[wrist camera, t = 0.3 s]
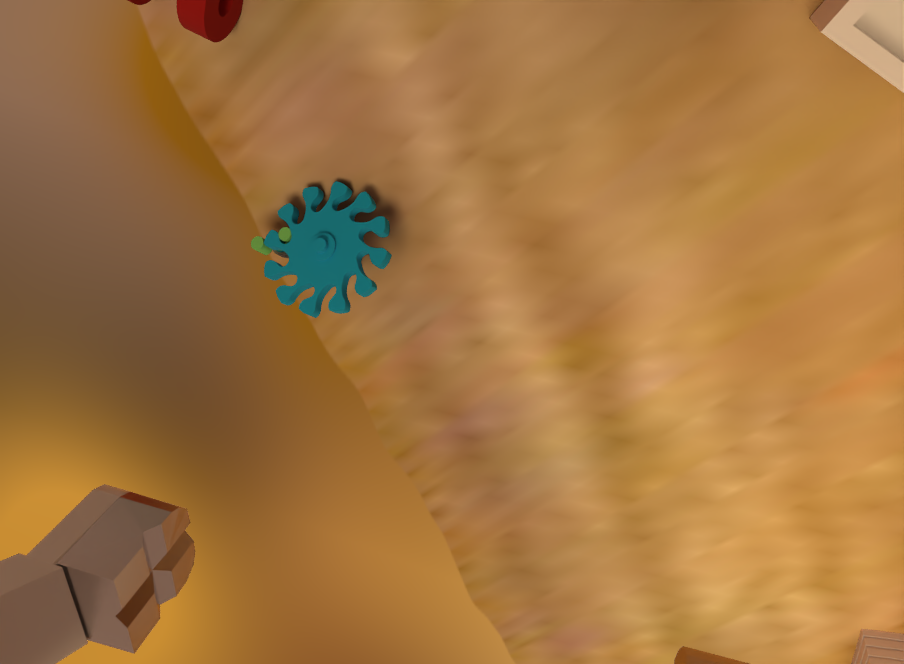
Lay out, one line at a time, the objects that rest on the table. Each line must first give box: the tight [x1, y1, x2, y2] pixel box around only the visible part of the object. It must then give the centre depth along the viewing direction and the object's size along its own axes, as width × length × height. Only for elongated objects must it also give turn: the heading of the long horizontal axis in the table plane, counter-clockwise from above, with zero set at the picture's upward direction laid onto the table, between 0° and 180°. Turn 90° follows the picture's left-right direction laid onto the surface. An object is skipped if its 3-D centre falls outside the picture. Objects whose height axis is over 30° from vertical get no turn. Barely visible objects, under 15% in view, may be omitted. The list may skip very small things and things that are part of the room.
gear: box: [251, 181, 392, 318], centre depth 51 cm, size 11×6×10 cm
